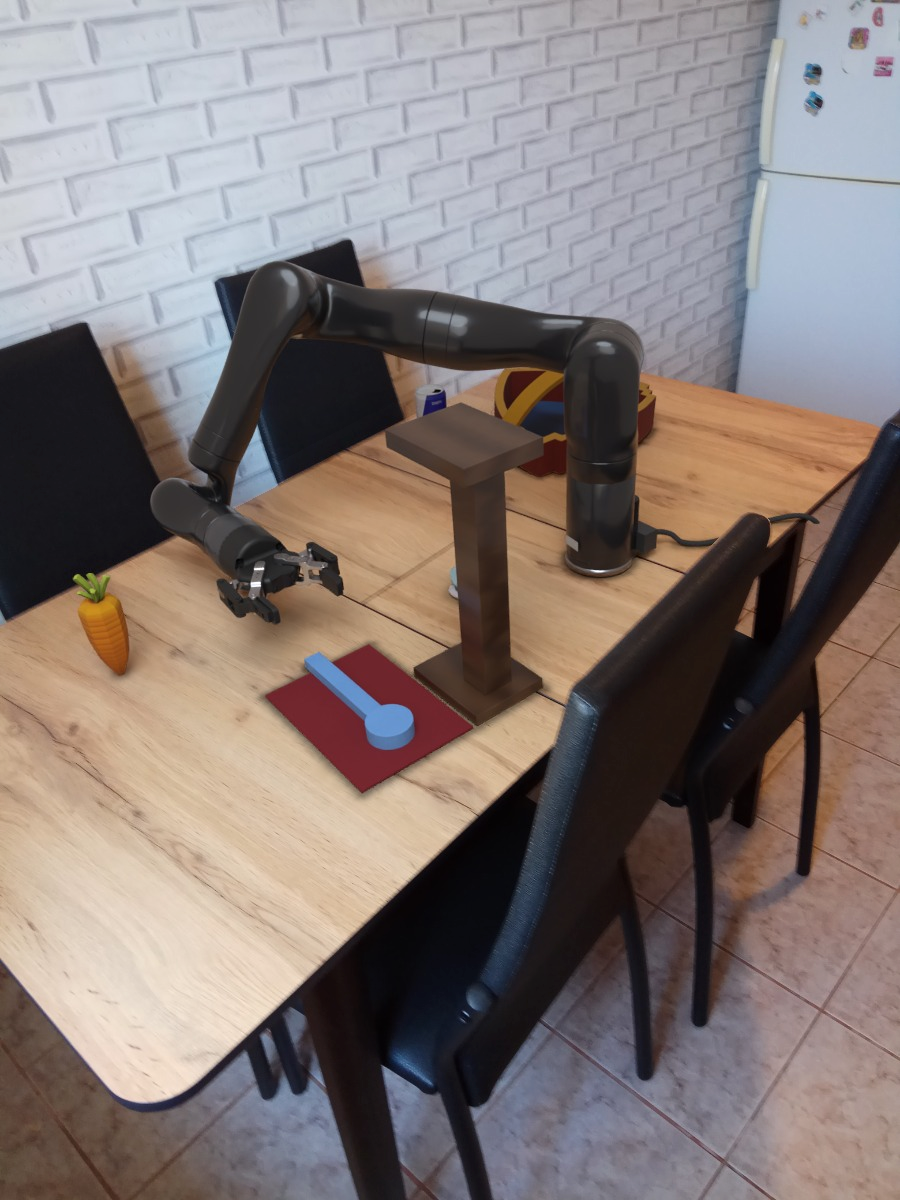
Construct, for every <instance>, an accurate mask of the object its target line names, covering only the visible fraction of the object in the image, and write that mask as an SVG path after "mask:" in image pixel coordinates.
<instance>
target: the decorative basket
mask: <svg viewBox="0 0 900 1200" xmlns="http://www.w3.org/2000/svg"><path fill="white" fill-rule="evenodd" d="M494 388H495V389H494V396H493V397H494V398H493V399H494V402H493V403H494V405H493V407H494V408H493V411H494V413H493V414H494V415H493V416H494V417H497V418H499V419H502V420H504V421H506V422H509V423H511V424H513V425H516V426H518V427H520V428H523V429H525V430H528V431H530V432H532V433H535V434H537V435H539V436H542V437H543V456H541V457H539V458H536V459H534V460H531V461H529V462H527V463H524V464H522V465H520V466H519V467H520V468H521V469H523V470H524V471H526V472H528V473H529V474H531V475H533V476H536V477H537V478H541V477H543V476H546V475H548V474H551V473H555V474H558V475H560V474H564V473H566V454H567V440H566V435H565V431H564V374H560V373H556V372H552V371H548V370H543V369H537V368H523V367H518V368H506V369H502V371H501V373H500V375H499V376H498V378H497V381H496V383H495V387H494ZM656 402H657V395H655V394H653V389H650V384H649V383H646V382H643V381H640V383H639V401H638V421H637V426H638V443H640V442H641V441H642V440H643V439H644V438H645V437H646V436H647V435H648V434H649V433H650V432H651V430H652V429H653V427H654V418H655V410H656Z"/></svg>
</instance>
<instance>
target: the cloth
mask: <svg viewBox="0 0 900 1200" xmlns="http://www.w3.org/2000/svg"><path fill="white" fill-rule="evenodd" d="M331 663H333V664H334V665H335V666H336V667H337V668H338V669H339V670H341V671H342V672H343V673H344V674H345V675H346V676H348V677H349V678H350V679H351V680H352V681H353V682H354V683H356V684H357V685H358V686H359V687H360V688H361V689H363V690H364V691H365V692H366V693H367V694H368V695H369V696H371V697H372V698H373V699H374V700H375V701H376V702H378V703H379V704H380V705H381V706H382V705H387V704H397V705H402V706H404V707H406V708H408V709H409V710H410V711H411V712H412V714H413V719H414V727H415V734H414V737H413V739H412V740H411V741H410V742H409V743H408V744H407V745H405V746H403V747H401V748H398V749H393V750H383V749H378V748H376V747H374V746H372V745H371V744H370V743H369V741H368V739H367V735H366V728H365V721H364V720H363V719H362V718H361V717H360V716H358V715H357V714H356V713H355V712H354V711H353V710H352V709H351V708H350V707H348V706H347V705H346V704H345V703H344V702H343V701H342V700H341V699H340V698H339V697H337V696H336V695H335V694H334V693H333V692H332V691H331V690H330V689H329V688H327V687H326V686H325V685H324V684H323V683H322V682H321V681H320V680H319V679H318V678H316V677H315V676H314V675H313V674H312V673H311V672H309V673H307V674H305V675H303V676H301V677H299V678H298V679H295V680H293V681H291V682H289V683H287V684H284V685H282V686H281V687H279V688H277V689H275V690H273V691H271V692H269V693H266V694H265V695H264V697H265V698H266V699H267V700H268V701H269V702H270V703H271V705H273V706H274V707H275V708H276V710H278V711H279V712H280V713H281V714H282V715H283V716H284V717H285V718H286V719H287V720H288V721H289V723H291V724H292V725H293V726H294V727H295V728H296V729H297V730H298V731H299V733H301V734H302V735H303V736H304V737H305V738H306V740H307V741H309V742H310V743H311V745H313V746H314V747H315V748H316V749H317V750H318V751H319V753H321V754H322V755H323V756H324V757H325V758H326V759H327V760H328V761H329V762H330V763H331V764H332V765H333V766H334V767H335V768H336V769H337V770H338V771H339V773H341V774H342V776H344V777H345V778H346V779H347V780H348V781H349V782H350V783H351V784H352V785H353V786H354V787H355V789H357V790H358V791H359V792H360V793H361V794H363V793H365V792H367V791H369V790H370V789H372V788H373V787H376V786H377V785H379V784H381V783H382V782H384V781H386V780H387V779H389V778H391V777H392V776H394V775H396V774H398V773H400V772H401V771H403V770H404V769H406V768H408V767H409V766H411V765H413V764H415V763H416V762H418V761H420V760H422V759H423V758H425V757H427V756H429V755H430V754H432V753H433V752H436V751H437V750H439V749H441V748H442V747H444V746H446V745H447V744H449V743H451V742H452V741H454V740H456V739H458V738H459V737H461V736H463V735H464V734H466V733H468V732H470V731H471V730H473V729H474V726H473V725H472V724H471V723H469V722H468V721H467V720H466V719H465V718H463V717H462V716H460V715H459V714H458V713H457V712H456V711H454V710H453V709H452V708H451V707H450V706H449V705H447V704H446V703H444V702H443V701H442V700H440V699H439V698H438V697H437V696H436V695H434V694H433V693H432V692H430V691H429V690H428V689H427V688H425V687H424V686H423V685H422V684H421V683H419V681H417V680H415V679H414V678H413V677H411V675H409V674H408V673H406V672H405V671H404V670H403V669H401V668H400V667H399V666H398V665H396V664H395V663H394V662H393V661H391V660H390V659H389V658H388V657H386V656H385V655H384V654H382V653H381V651H379V650H378V649H376V648H375V647H374V646H372V645H371V644H370V643H368V644H366V645H364V646H362V647H359V648H358V649H356V650H354V651H351V652H350V653H348V654H346V655H344V656H342V657H340V658H337V659H336V660H334V661H332V662H331Z"/></svg>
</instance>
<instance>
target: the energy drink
mask: <svg viewBox="0 0 900 1200" xmlns="http://www.w3.org/2000/svg"><path fill="white" fill-rule="evenodd" d="M414 403H415V415H416V418H419V417H422V416H424V415H427V414H430V413H433V412H435V411H438V410H441V409H444V408H447V407H448V402H447V391H446V389H445V387H444V386H443V385H442V384H437V383H427V384H422V385H420V386H417V387H416V388H415V392H414Z"/></svg>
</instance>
